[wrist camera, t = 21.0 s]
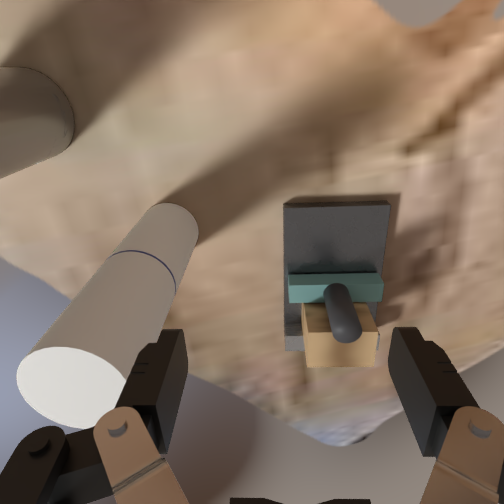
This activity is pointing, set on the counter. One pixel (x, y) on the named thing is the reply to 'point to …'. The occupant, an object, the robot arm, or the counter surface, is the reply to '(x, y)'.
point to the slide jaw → (338, 298)
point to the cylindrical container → (109, 321)
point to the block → (330, 350)
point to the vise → (330, 249)
